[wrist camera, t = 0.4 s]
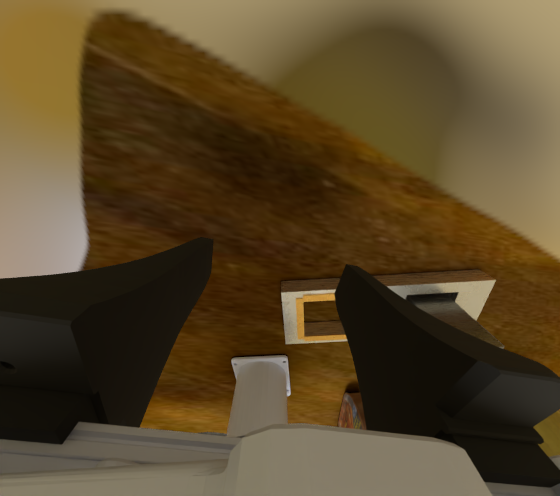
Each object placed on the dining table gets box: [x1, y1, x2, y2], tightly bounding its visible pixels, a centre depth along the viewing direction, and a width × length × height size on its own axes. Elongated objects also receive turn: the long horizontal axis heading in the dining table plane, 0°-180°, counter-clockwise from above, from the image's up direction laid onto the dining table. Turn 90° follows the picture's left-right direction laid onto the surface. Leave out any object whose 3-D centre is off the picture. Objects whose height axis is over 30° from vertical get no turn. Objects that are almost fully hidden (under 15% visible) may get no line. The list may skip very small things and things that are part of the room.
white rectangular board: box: [281, 269, 496, 344], centre depth 24 cm, size 8×22×2 cm, turn 94°
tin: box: [338, 393, 366, 430], centre depth 32 cm, size 15×3×8 cm, turn 1°
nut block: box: [406, 293, 505, 349], centre depth 21 cm, size 4×4×8 cm
